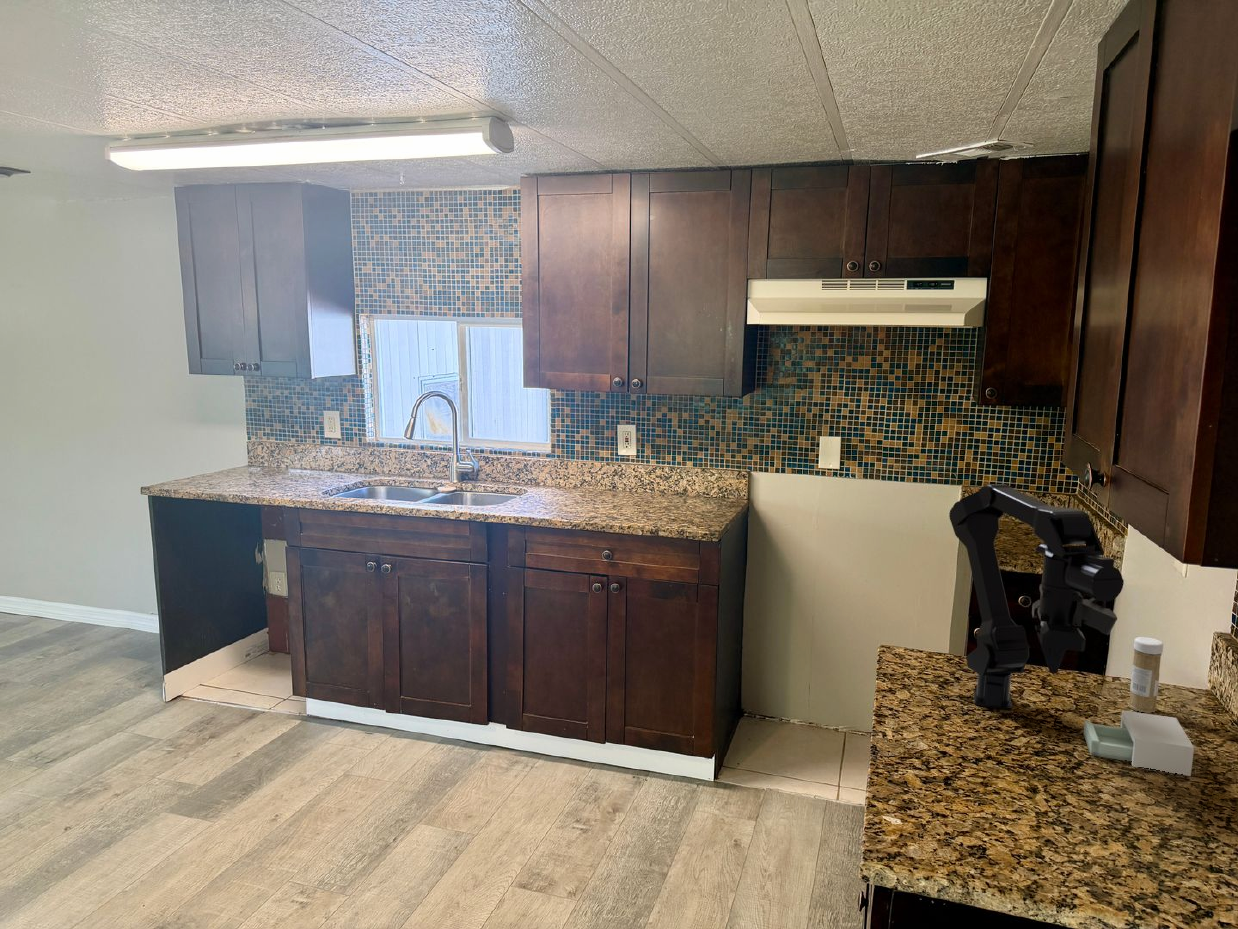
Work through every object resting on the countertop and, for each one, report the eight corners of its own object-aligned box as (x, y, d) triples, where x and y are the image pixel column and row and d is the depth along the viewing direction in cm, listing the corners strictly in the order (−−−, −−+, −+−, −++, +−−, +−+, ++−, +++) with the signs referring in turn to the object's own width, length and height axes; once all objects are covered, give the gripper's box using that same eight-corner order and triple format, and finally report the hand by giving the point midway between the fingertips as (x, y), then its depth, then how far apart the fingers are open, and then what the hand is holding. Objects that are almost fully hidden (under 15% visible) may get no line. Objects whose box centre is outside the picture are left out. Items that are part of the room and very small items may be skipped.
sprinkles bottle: (1162, 713, 157) (1169, 643, 155) (1141, 715, 156) (1149, 645, 154) (1141, 703, 161) (1148, 635, 159) (1121, 705, 160) (1128, 637, 158)
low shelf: (1119, 736, 147) (1122, 710, 147) (1173, 744, 144) (1176, 718, 144) (1132, 766, 137) (1135, 738, 136) (1190, 776, 134) (1194, 747, 133)
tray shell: (1083, 734, 148) (1084, 720, 148) (1163, 746, 144) (1164, 732, 143) (1090, 755, 140) (1092, 740, 140) (1175, 768, 136) (1176, 753, 136)
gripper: (1126, 605, 131) (1116, 701, 133) (1105, 575, 148) (1097, 660, 150) (1046, 597, 135) (1038, 690, 137) (1035, 568, 152) (1028, 651, 154)
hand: (1052, 672), depth 145 cm, fingers closed
